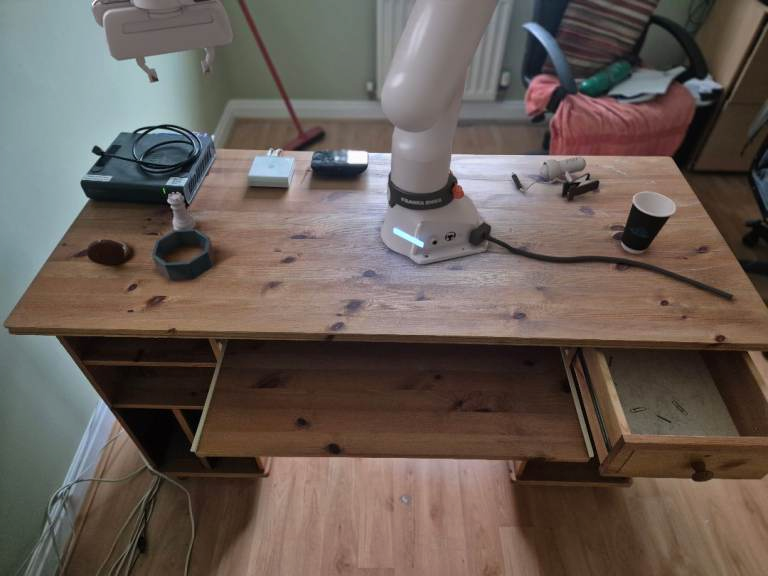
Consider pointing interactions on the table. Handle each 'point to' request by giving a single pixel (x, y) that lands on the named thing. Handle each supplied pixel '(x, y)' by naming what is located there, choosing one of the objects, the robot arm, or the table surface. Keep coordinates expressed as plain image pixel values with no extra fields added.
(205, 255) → the octagonal bangle
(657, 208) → the dixie cup
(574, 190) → the clip-on lamp
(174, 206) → the rook chess piece
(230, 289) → the table surface
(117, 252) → the dark brown rounded lump
